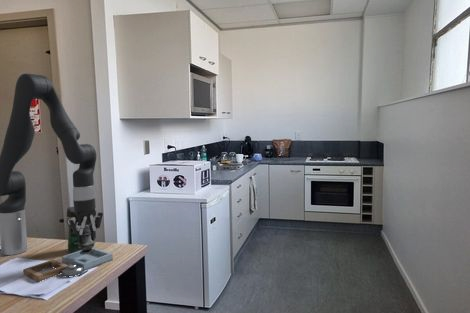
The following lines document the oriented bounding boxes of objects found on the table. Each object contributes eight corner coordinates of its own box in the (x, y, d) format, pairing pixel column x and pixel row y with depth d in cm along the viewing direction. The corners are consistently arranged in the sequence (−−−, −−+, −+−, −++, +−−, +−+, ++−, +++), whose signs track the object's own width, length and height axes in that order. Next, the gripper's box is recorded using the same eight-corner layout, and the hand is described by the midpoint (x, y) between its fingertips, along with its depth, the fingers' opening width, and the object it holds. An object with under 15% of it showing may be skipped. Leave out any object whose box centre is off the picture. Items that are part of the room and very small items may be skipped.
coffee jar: (69, 255, 138) (67, 209, 136) (66, 249, 144) (64, 205, 143) (95, 250, 143) (93, 206, 142) (91, 244, 150) (89, 202, 148)
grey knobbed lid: (57, 274, 120) (57, 266, 120) (76, 267, 126) (76, 259, 125) (69, 279, 116) (68, 271, 116) (87, 271, 122) (87, 263, 122)
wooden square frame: (23, 274, 120) (23, 269, 120) (53, 264, 128) (53, 259, 128) (38, 282, 114) (38, 276, 114) (69, 270, 123) (68, 265, 122)
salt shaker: (89, 255, 127) (87, 223, 126) (75, 254, 128) (73, 222, 127) (98, 249, 133) (97, 219, 132) (85, 248, 134) (83, 218, 133)
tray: (62, 262, 130) (62, 256, 130) (91, 252, 140) (90, 246, 140) (84, 271, 122) (83, 264, 122) (112, 260, 132) (112, 253, 132)
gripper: (95, 193, 137) (97, 235, 138) (60, 200, 125) (63, 245, 127) (106, 195, 133) (109, 238, 134) (71, 202, 121) (74, 249, 122)
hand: (86, 241), depth 130 cm, fingers closed on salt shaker, 4 cm apart
